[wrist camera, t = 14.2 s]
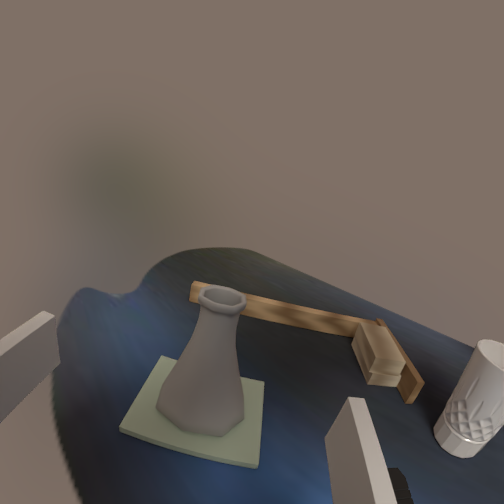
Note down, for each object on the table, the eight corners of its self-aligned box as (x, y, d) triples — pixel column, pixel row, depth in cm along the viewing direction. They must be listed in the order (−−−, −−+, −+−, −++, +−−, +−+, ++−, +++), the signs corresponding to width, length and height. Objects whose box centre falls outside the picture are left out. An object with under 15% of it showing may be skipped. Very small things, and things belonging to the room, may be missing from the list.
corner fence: (375, 336, 42) (382, 319, 41) (412, 403, 26) (424, 382, 25) (191, 296, 42) (195, 277, 41) (151, 357, 27) (153, 331, 26)
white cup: (459, 473, 15) (525, 388, 13) (415, 425, 23) (464, 342, 20) (493, 446, 18) (544, 370, 16) (453, 408, 25) (495, 336, 23)
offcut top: (380, 339, 38) (385, 327, 37) (398, 376, 29) (406, 362, 28) (354, 334, 38) (359, 321, 37) (368, 372, 29) (375, 357, 29)
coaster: (262, 386, 26) (264, 381, 26) (256, 468, 17) (258, 464, 17) (161, 360, 27) (161, 355, 26) (119, 431, 17) (119, 426, 17)
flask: (181, 366, 26) (197, 265, 23) (255, 395, 24) (287, 294, 22) (139, 411, 19) (143, 294, 16) (228, 451, 17) (264, 338, 15)
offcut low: (374, 351, 38) (380, 339, 38) (394, 389, 29) (401, 376, 29) (349, 347, 38) (354, 335, 38) (365, 387, 30) (372, 373, 29)
